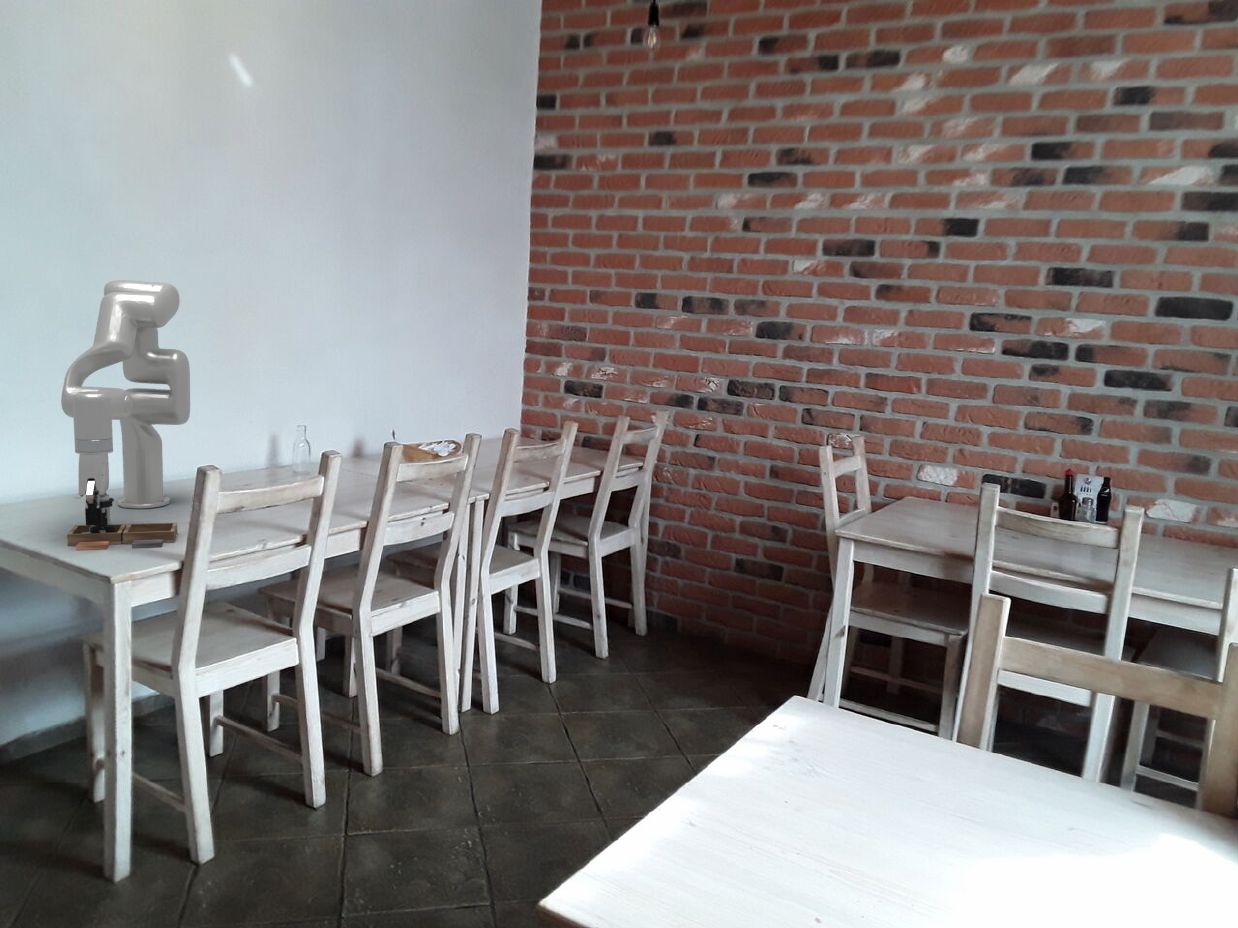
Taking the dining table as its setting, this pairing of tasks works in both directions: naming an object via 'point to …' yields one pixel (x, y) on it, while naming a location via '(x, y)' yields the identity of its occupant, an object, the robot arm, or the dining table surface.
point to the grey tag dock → (149, 534)
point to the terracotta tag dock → (94, 537)
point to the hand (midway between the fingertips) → (97, 520)
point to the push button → (103, 517)
